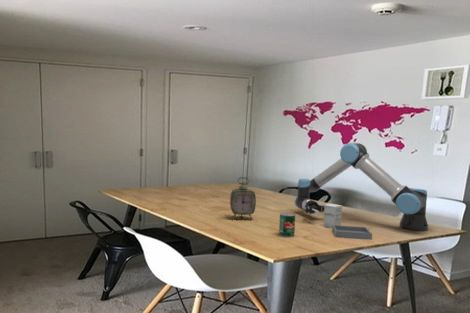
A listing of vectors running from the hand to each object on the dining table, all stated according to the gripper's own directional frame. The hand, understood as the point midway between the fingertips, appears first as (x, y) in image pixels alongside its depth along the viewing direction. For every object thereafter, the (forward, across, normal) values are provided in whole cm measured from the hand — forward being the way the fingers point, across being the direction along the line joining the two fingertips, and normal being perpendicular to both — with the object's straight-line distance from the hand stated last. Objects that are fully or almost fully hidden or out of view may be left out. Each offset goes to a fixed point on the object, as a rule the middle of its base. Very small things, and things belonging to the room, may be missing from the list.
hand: (328, 213), depth 236 cm
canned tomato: (+16, +34, -8) cm, 38 cm away
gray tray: (+21, -1, -7) cm, 23 cm away
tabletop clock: (-24, +44, -7) cm, 51 cm away
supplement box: (+4, 0, -8) cm, 8 cm away
